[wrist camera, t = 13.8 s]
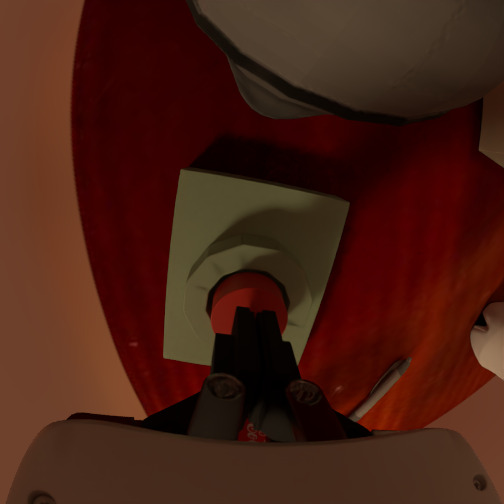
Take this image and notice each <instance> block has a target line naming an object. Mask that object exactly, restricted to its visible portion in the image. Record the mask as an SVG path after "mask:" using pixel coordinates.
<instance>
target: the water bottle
mask: <svg viewBox="0 0 504 504" xmlns="http://www.w3.org/2000/svg"><path fill="white" fill-rule="evenodd" d="M482 313H483V316H484V318H485V321H486V323H487V325H486V326H485V327H484V326H479V325H476V326H474V327H473V328H472V331H471V335H470V339H471V345H472V348H473V351H474V353H475V355H476V357H477V359H478V361H479V363H480V364H481V365H482V366H483V367H485V368H486V369H488V370H490V371H492V372H493V373H495V374H496V375H498V376H499V377H500V378H501V379H503V380H504V302H494V303H491V304H489V305H488V306H487V307H486V308H485V309H484V311H483V312H482Z"/></svg>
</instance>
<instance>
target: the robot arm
mask: <svg viewBox="0 0 504 504" xmlns="http://www.w3.org/2000/svg"><path fill="white" fill-rule="evenodd" d="M247 416H248V421H249V423H253V428H254V430H257V431H261V432H262V433H264V434H265V442H245V441H238V437H239V432H240V431H241V430H243V428H244V425H245V422H246V419H247ZM6 504H502V502H501V499H500V497H499V495H498V493H497V491H496V489H495V487H494V485H493V483H492V481H491V479H490V477H489V475H488V473H487V471H486V470H485V468H484V466H483V465H482V463H481V461H480V459H479V458H478V456H477V455H476V453H475V452H474V450H473V449H472V447H471V446H470V444H469V443H468V442H467V441H466V439H465V438H464V437H463V436H462V435H461V434H460V433H458V432H456V431H453V430H449V429H443V428H422V429H414V430H408V431H390V430H373V429H372V431H371V432H370V431H369V430H368V429H366V428H365V427H363V426H362V425H360V424H358V423H356V422H354V421H353V420H351V419H349V418H347V417H346V416H344V415H342V414H340V413H339V412H337V411H335V410H333V409H332V408H331V406H330V404H329V402H328V400H327V398H326V397H325V395H324V393H323V391H322V390H321V388H320V387H319V386H318V385H316V384H315V383H313V382H311V381H308V380H303V379H301V376H300V373H299V369H298V366H297V362H296V359H295V355H294V352H293V348H292V345H291V343H290V342H289V341H283V339H282V335H281V332H280V328H279V324H278V320H277V316H276V312H275V311H270V310H262V311H261V313H260V312H257V314H256V318H255V316H254V312H253V311H250V308H248V307H241V306H237V307H236V311H235V316H234V321H233V326H232V331H231V335H229V334H222V333H216V334H215V340H214V346H213V353H212V361H211V373H210V375H209V376H208V377H207V378H206V379H205V380H204V382H203V385H202V388H201V391H200V392H198V393H196V394H194V395H192V396H190V397H188V398H186V399H184V400H182V401H180V402H178V403H176V404H174V405H172V406H170V407H168V408H166V409H164V410H161V411H159V412H157V413H155V414H153V415H150V416H149V417H147V418H146V419H144V420H134V417H123V416H122V417H121V416H110V415H99V414H91V413H75V414H72V415H71V416H70V417H69V418H67V420H63V421H57V422H53V423H51V424H49V425H47V426H46V427H44V428H43V429H42V430H41V431H40V432H39V433H38V435H37V436H36V437H35V439H34V440H33V442H32V443H31V445H30V446H29V448H28V450H27V452H26V454H25V456H24V457H23V459H22V461H21V464H20V466H19V468H18V471H17V473H16V475H15V478H14V481H13V483H12V486H11V489H10V492H9V495H8V498H7V501H6Z"/></svg>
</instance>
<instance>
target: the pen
mask: <svg viewBox="0 0 504 504" xmlns="http://www.w3.org/2000/svg"><path fill="white" fill-rule="evenodd" d="M411 360H412V358H411V357H408V358H407V359H405V360H399V361H397V362H396V363H395V364H393V365H392V366H391V367H390V368H389V369H388V371H387V372H386V373H385V374H384V375H383V376H382V377H381V379H380V380H379V381H378V382H377V384H376V385H375V386H374V388H373V389H372V391H371V393H370V396H369V398H368V399H367V400H366V401H365V402H364V403H363V404H362V405H361V406H360V407H359V408H358V409H356V410H355V411H354V412H353V413H352V414H351V415H350V416H349V417H348V418H349V419H351V420H353V421H354V422H357V421H358V420H359V419H360V418H361V417H362V416H363V415H364V414H365V413H366V412H367V411H368V410H369V409H370V408H371V407H372V406H373V405H374V404H375V403H376V402H377V401H378V400H379V399H380V398H381V397H382V396H383V395H384V394H385V393H386V392H387V391H388V390H389V389H390V388H391V387H392V386H393V385H394V383H395V382H396V381H397V380H398V379H399V378H400V377H401V376H402V375H403V373H404V372H405V371H406V370H407V368H408V367H409V365H410V361H411ZM388 373H390V374H389V375H388V376H387V377H386V378H385V379H384V380H383V381H382V383H381V384H380V385H379V386H378V387H377V385H378V384H379V383H380V382H381V380H382V379H383V378H384V377H385V376H386V375H387V374H388ZM376 387H377V388H376ZM375 388H376V389H375ZM374 389H375V390H374Z"/></svg>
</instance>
